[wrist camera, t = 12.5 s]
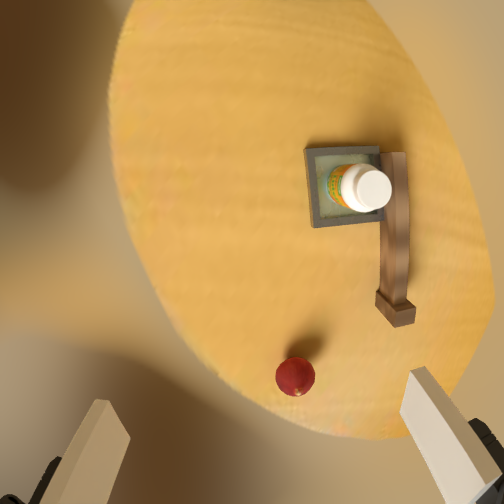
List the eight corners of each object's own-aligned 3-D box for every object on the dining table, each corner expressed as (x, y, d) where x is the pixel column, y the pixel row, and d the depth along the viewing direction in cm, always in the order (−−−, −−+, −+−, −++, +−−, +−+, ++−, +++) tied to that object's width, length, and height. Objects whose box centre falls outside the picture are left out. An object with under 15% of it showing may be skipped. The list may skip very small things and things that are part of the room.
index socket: (303, 149, 35) (305, 148, 33) (374, 146, 35) (378, 145, 33) (311, 226, 38) (313, 228, 36) (379, 218, 37) (384, 220, 36)
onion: (314, 368, 43) (324, 401, 36) (281, 380, 44) (286, 414, 36) (304, 341, 42) (314, 374, 34) (268, 354, 43) (272, 388, 35)
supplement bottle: (319, 171, 35) (343, 171, 26) (356, 159, 35) (389, 156, 26) (332, 211, 37) (359, 223, 27) (368, 198, 36) (403, 206, 27)
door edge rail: (371, 154, 35) (395, 151, 28) (391, 153, 35) (417, 151, 28) (375, 305, 41) (394, 327, 34) (393, 302, 41) (414, 323, 34)
